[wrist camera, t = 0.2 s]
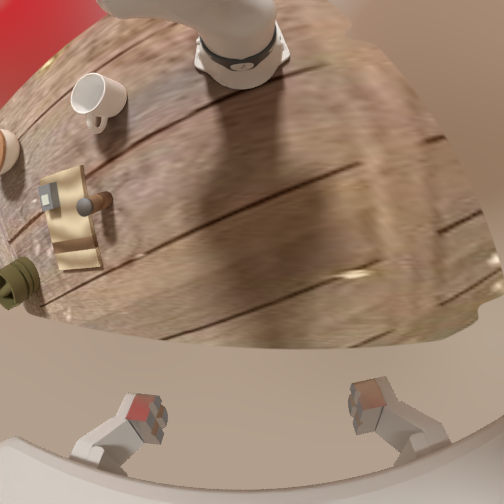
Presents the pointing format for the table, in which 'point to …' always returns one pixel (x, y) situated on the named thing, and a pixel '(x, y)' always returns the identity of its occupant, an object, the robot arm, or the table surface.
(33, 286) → the piston
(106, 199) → the peg
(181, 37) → the table surface
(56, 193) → the block
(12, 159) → the lidded bowl
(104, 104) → the mug
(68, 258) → the plank
